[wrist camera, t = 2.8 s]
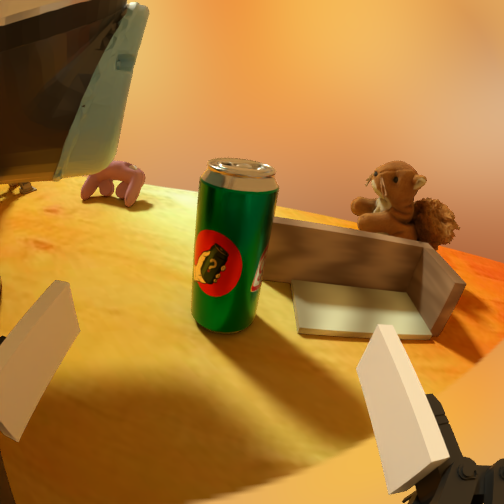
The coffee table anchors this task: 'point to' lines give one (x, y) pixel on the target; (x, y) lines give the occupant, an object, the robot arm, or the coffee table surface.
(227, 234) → the soda can
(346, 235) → the brown wooden angled piece
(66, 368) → the coffee table surface
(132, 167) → the video game controller
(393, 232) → the stuffed squirrel
